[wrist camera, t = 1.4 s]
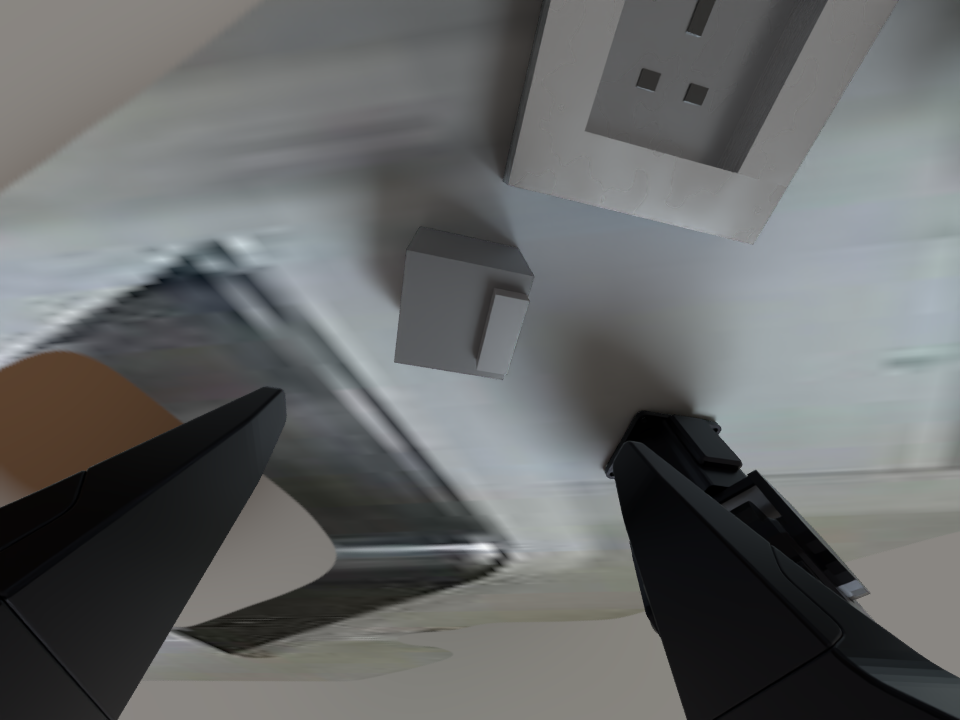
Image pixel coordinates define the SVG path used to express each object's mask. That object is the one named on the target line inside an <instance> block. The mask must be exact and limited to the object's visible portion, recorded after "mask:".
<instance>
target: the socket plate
mask: <svg viewBox="0 0 960 720" xmlns="http://www.w3.org/2000/svg"><path fill="white" fill-rule="evenodd" d="M898 1H899V0H543V3H542V7H541V12H540V16H539V21H538V25H537V30H536V34H535V38H534V43H533V47H532V52H531V56H530V61H529V65H528V70H527V74H526V79H525V83H524V88H523V92H522V96H521V101H520V105H519V110H518V114H517V119H516V123H515V128H514V132H513V137H512V141H511V146H510V150H509V154H508V159H507V163H506V168H505V172H504V177H503V182H505V183H506V184H507V185H510V186H515V187H519V188H523V189H527V190H531V191H535V192H539V193H543V194H547V195H551V196H555V197H560V198H564V199H568V200H572V201H576V202H580V203H584V204H588V205H592V206H596V207H601V208H605V209H609V210H613V211H617V212H621V213H625V214H629V215H633V216H637V217H641V218H646V219H650V220H654V221H658V222H662V223H666V224H670V225H674V226H678V227H682V228H687V229H691V230H695V231H699V232H703V233H707V234H711V235H715V236H719V237H723V238H727V239H732V240H736V241H740V242H744V243H748V244H752V245H753V244H754V243H755V241H756V239H757V237H758V236H759V234H760V232H761V231H762V229H763V227H764V226H765V224H766V222H767V221H768V219H769V217H770V216H771V214H772V212H773V211H774V209H775V207H776V206H777V204H778V202H779V201H780V199H781V197H782V195H783V194H784V192H785V190H786V189H787V187H788V185H789V184H790V182H791V180H792V179H793V177H794V175H795V174H796V172H797V170H798V169H799V167H800V165H801V164H802V162H803V160H804V159H805V157H806V155H807V153H808V152H809V150H810V148H811V147H812V145H813V143H814V142H815V140H816V138H817V137H818V135H819V133H820V132H821V130H822V128H823V127H824V125H825V123H826V122H827V120H828V118H829V117H830V115H831V113H832V112H833V110H834V108H835V106H836V105H837V103H838V101H839V100H840V98H841V96H842V95H843V93H844V91H845V90H846V88H847V86H848V85H849V83H850V81H851V80H852V78H853V76H854V75H855V73H856V71H857V70H858V68H859V66H860V64H861V63H862V61H863V59H864V58H865V56H866V54H867V53H868V51H869V49H870V48H871V46H872V44H873V43H874V41H875V39H876V38H877V36H878V34H879V33H880V31H881V29H882V28H883V26H884V24H885V22H886V21H887V19H888V17H889V16H890V14H891V12H892V11H893V9H894V7H895V6H896V4H897V2H898Z"/></svg>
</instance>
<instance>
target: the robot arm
mask: <svg viewBox="0 0 960 720" xmlns="http://www.w3.org/2000/svg"><path fill="white" fill-rule="evenodd" d="M286 416H287V413H286V398H285V392H284V390H283V389H281V388H275V387H268V386H266V387H262V388H260V389H258V390H256V391H254V392H251V393H249V394H247V395H245V396H243V397H241V398H238V399H236V400H234V401H232V402H230V403H228V404H225V405H223V406H221V407H219V408H217V409H215V410H213V411H210V412H208V413H206V414H204V415H202V416H200V417H197V418H195V419H193V420H191V421H189V422H187V423H184V424H182V425H180V426H178V427H176V428H174V429H172V430H170V431H167V432H165V433H163V434H161V435H159V436H156V437H154V438H152V439H150V440H148V441H146V442H143V443H141V444H139V445H137V446H135V447H133V448H131V449H129V450H126V451H124V452H122V453H120V454H118V455H115V456H113V457H111V458H109V459H107V460H105V461H103V462H101V463H98V464H96V465H94V466H92V467H90V468H88V470H87V472H86V471H81V472H78V473H76V474H74V475H72V476H70V477H68V478H66V479H63V480H61V481H59V482H57V483H55V484H52V485H50V486H48V487H46V488H44V489H41V490H39V491H37V492H35V493H32V494H30V495H28V496H26V497H23V498H21V499H19V500H17V501H14V502H12V503H10V504H7V505H5V506H3V507H0V720H118V718H119V716H120V714H121V713H122V711H123V710H124V708H125V706H126V705H127V703H128V701H129V699H130V698H131V696H132V694H133V693H134V691H135V689H136V688H137V686H138V684H139V683H140V681H141V679H142V678H143V676H144V674H145V673H146V671H147V669H148V668H149V666H150V664H151V662H152V661H153V659H154V657H155V656H156V654H157V652H158V651H159V649H160V647H161V646H162V644H163V642H164V641H165V639H166V637H167V636H168V634H169V632H170V631H171V629H172V627H173V625H174V624H175V622H176V620H177V619H178V617H179V615H180V614H181V612H182V610H183V609H184V607H185V605H186V604H187V602H188V600H189V599H190V597H191V595H192V593H193V592H194V590H195V588H196V587H197V585H198V583H199V582H200V580H201V578H202V577H203V575H204V573H205V572H206V570H207V568H208V567H209V565H210V563H211V562H212V560H213V558H214V556H215V555H216V553H217V551H218V550H219V548H220V546H221V545H222V543H223V541H224V540H225V538H226V536H227V535H228V533H229V531H230V529H231V527H232V526H233V524H234V523H235V521H236V519H237V518H238V516H239V514H240V513H241V510H242V509H243V508H244V506H245V504H246V503H247V501H248V499H249V498H250V496H251V494H252V493H253V490H254V489H255V487H256V486H257V484H258V482H259V480H260V478H261V476H262V474H263V472H264V470H265V467H266V465H267V463H268V461H269V458H270V456H271V454H272V452H273V449H274V447H275V445H276V443H277V441H278V438H279V436H280V434H281V432H282V429H283V427H284V425H285V422H286ZM644 417H645V418H644ZM642 418H644V419H642ZM720 432H721V427H720V426H719V425H718V423H716V422H712V421H706V420H704V419H699V418H692V417H686V416H680V415H668V414H661V413H655V412H649V411H641V412H639V413H637V414H636V416H635V417H634V419H633V421H632V423H631V424H630V426H629V428H628V430H627V431H626V433H625V435H624V437H623V439H622V440H621V442H620V444H619V446H618V447H617V449H616V451H615V453H614V454H613V456H612V458H611V460H610V462H609V463H608V465H607V467H606V469H605V474H606V476H607V477H608V478H610V479H615V483H616V487H617V492H618V497H619V502H620V506H621V511H622V515H623V519H624V523H625V527H626V530H627V533H628V536H629V539H630V541H629V542H630V547H631V551H632V557H633V561H634V566H635V570H636V574H637V578H638V582H639V587H640V591H641V595H642V599H643V603H644V608H645V612H646V615H647V617H648V618H649V620H650V622H651V625H652V627H653V629H654V630H655V632H656V633H658V634H659V636H660V637H661V640H662V643H663V646H664V649H665V652H666V656H667V659H668V662H669V665H670V668H671V671H672V674H673V677H674V681H675V684H676V687H677V690H678V693H679V696H680V699H681V703H682V706H683V709H684V712H685V715H686V718H687V720H960V678H959V677H957V676H955V675H953V674H951V673H949V672H948V671H946V670H944V669H942V668H941V667H939V666H937V665H936V664H934V663H932V662H930V661H929V660H928V659H926V658H925V657H923V656H922V655H920V654H919V653H917V652H916V651H915V650H913V649H912V648H910V647H909V646H908V645H906V644H905V643H904V642H902V641H901V640H899V639H898V638H896V637H895V636H894V635H892V634H891V633H890V632H888V631H887V630H885V629H884V628H883V627H881V626H880V625H879V624H877V623H876V622H875V621H874V620H873V619H872V618H871V617H870V615H869V614H868V613H867V612H866V611H865V610H864V609H863V607H862V606H861V605H860V604H859V603H858V602H857V601H856V600H855V599H858V598H861V597H863V596H866V595H868V594H870V592H869V591H868V590H867V588H866V587H865V586H864V585H863V584H862V583H861V582H860V581H859V579H858V578H857V577H856V576H855V575H854V574H853V573H852V571H851V570H850V569H849V568H848V567H847V565H846V564H845V563H844V562H843V561H842V560H841V559H840V557H839V556H838V555H837V554H836V553H835V552H834V551H833V549H832V548H831V547H830V546H829V545H828V544H827V543H826V541H825V540H824V539H823V538H822V537H821V536H820V535H819V534H818V533H817V532H816V531H815V530H814V528H813V527H812V526H811V525H810V524H809V523H808V522H807V521H806V520H805V519H804V518H803V517H802V516H801V515H800V514H799V512H798V511H797V510H796V509H795V508H794V507H793V506H792V505H791V504H790V503H789V502H788V501H787V500H786V499H785V498H784V497H783V496H782V495H781V494H780V493H779V492H778V491H777V490H776V489H775V488H774V487H773V486H772V485H771V484H770V483H769V482H768V481H767V480H766V479H765V478H764V477H763V476H762V475H761V474H760V473H759V472H758V471H757V470H754V471H752V472H751V473H749V474H747V475H748V476H746V475H745V474H744V473H743V472H742V470H741V469H740V468H741V467H742V465H743V464H742V462H741V460H740V459H739V458H738V457H737V455H736V454H735V453H734V452H733V451H732V450H731V449H730V448H729V447H728V445H727V444H726V443H725V442H724V441H723V440H722V439H721V438H720V437H719V435H718V434H719V433H720Z"/></svg>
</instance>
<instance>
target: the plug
mask: <svg viewBox="0 0 960 720" xmlns="http://www.w3.org/2000/svg"><path fill="white" fill-rule="evenodd" d="M533 279H534V275H533V273H532V272H531V270H530V268H529V266H528V264H527V263H526V261H525V259H524V257H523V255H522V254H521V252H520V250H519V248H517V247H512V246H507V245H503V244H498V243H494V242H489V241H484V240H480V239H475V238H471V237H466V236H462V235H457V234H452V233H448V232H443V231H439V230H434V229H429V228H425V227H420V228H419V229H418V231H417V233H416V234H415V236H414V238H413V240H412V241H411V243H410V245H409V247H408V248H407V250H406V259H405V268H404V277H403V286H402V296H401V305H400V314H399V323H398V332H397V341H396V350H395V359H394V362H395V363H401V364H407V365H414V366H420V367H426V368H432V369H438V370H445V371H451V372H457V373H463V374H469V375H476V376H482V377H488V378H494V379H501V380H503V378H504V375H507V373H508V370H509V367H510V363H511V360H512V357H513V354H514V350H515V347H516V344H517V341H518V337H519V334H520V331H521V328H522V324H523V321H524V318H525V315H526V311H527V308H528V305H529V299H528V296H529V292H530V289H531V286H532V282H533Z"/></svg>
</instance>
